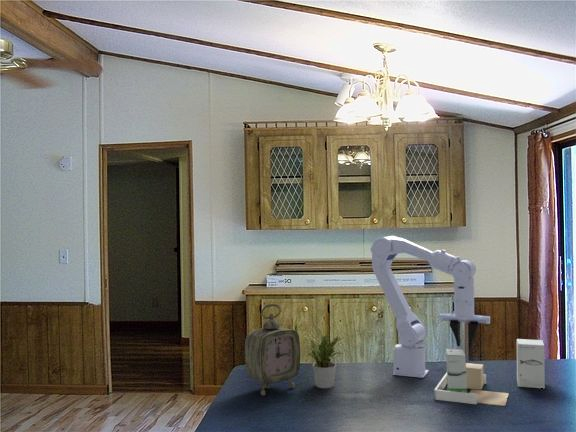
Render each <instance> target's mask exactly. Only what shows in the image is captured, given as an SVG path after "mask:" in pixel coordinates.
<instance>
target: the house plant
mask: <svg viewBox="0 0 576 432" xmlns="http://www.w3.org/2000/svg"><path fill="white" fill-rule="evenodd" d="M318 331H319V333H320V337H321V339H320V341H321V342H320V343H318V347H317V345H316V344H315V342H314V341H313V340H312V339H311V338H310V337H308V335H304V337H305V338H306V339H307V340H306V342H307V343H310V346H311V352H308V353H307V352H306V357H307V356H309V357H311V358H313V359H314V361H315V362H314V363H312V370H313V375H314V377H313V378H314V382H315V386H316V388H319V389H331V388H333V387H334V385H335V378H336V369H337V364H336V363H335V362H333V361H332V360H333V359H334V356H335V355H337V357H338V356H339V355H344V351H342V352H340V351H338V352H336V350H335V349H336V348H337V347H338V346H339V345H340V344H342V342H340V343H338V342H339V341H341V340H342V339H347V338H348V336H344V337H340V336H342V335H343V333H340V334H339V335H337V336H336V337H334V338H333V340H331V341H329V335H328V332H327V331H326V330H325V333H324V332H323V333H322V332H321V331H320V330H318ZM337 343H338V344H337ZM336 344H337V345H336ZM335 345H336V346H335Z"/></svg>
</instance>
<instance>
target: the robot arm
mask: <svg viewBox="0 0 576 432" xmlns="http://www.w3.org/2000/svg"><path fill="white" fill-rule="evenodd" d="M370 252H371V254H372V255H371V268H372V271H373V273H374V276H375V277H376V280H377V282H378V284H379V286H380V287H381V289H382V292H383V294H384V296H385V298H386V300H387V303H388V304H389V306H390V309H391V310H392V313H393V315H394V317H395V319H396V322H395V323H396V324H395V329H396V330H397V334H398V340H399V342H400V343H399V344H398V343H397V344H395V345H394V348H393V375H394V376H399V377H400V376H401V377H409V378H410V377H412V378H421V379H422V378H425V377H426V376H427V374H428V373H429V372H430V371H429V369H426V344H425V343H426V342H425V339H426V338H427V336H428V330H427V327H426V325H425V324H424V323H423V322H421V320H420V319H419V317H418V316H417V315H416V314H415V313H414V312H412V309H411V308H410V305H409V303H408V301H407V299H406V296H405V295H404V292H403V291H402V289H401V287H400V284H399V283H398V280H397V278H396V277H395V275H394V273H393V270H392V269H391V267H392V263H393V261H394V260H395V258H396V257H397V255H398V254H404V253H405V254H407V255H410V256H413V257H416V258H418V259H422V260H424V261H427V262H428V264H429V265H430V267H431V268H432V269H435V270H438V271H440V272H443V273H445V274H447V275H449V276H452V278H453V280H454V281H453V282H454V283H453V284H454V285H453V293H454V295H453V296H454V298H453V303H454V304H453V305H454V306H453V309H454V310H453V313H440V314H439V315H438V321H439V322H444V321H445V322H449V328H450V329H451V330H452V334H453V335H454V339H455V342H456V346H457V347H460V346H461V343H462V341H461V323H468V347H469V348H473V345H474V344H473V343H474V339H475V335H476V332H477V330H478V327H479V325H480V324H486V325H489V324H491V316H490V315H489V316H488V315H479V314H475V285H474V282H475V281H474V276H475V275H476V271H477V269H476V268H477V267H476V265H475V263H474V262H472V260H470V259H467V258H466V259H465V258H464V259H462V257H461V256H458V255H457V256H455V255H453V254H450V253H447V250H446V249H441V250H440V249H436V250H435V251H432V250H430V249H428V248H425V247H423V246H421V245H418V244H417V243H414V242H412V241H411V240H408V239H405V238H403V237H398V236H396V235H388V236H378V237H377V238H375V239H374V241H373V243H372V245H371V247H370Z"/></svg>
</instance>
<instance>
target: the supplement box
mask: <svg viewBox="0 0 576 432" xmlns="http://www.w3.org/2000/svg"><path fill="white" fill-rule="evenodd" d="M545 348H546V347H545V344H544V340H543V339H524V338H517V339H516V382H517V387H518V388H534V389H541V388H543V390H544V389H546V380H545V379H546V377H545V372H546V369H545V366H546V365H545V361H546V360H545V353H546V352H545V351H546V350H545Z"/></svg>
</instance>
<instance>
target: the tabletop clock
mask: <svg viewBox="0 0 576 432" xmlns="http://www.w3.org/2000/svg"><path fill="white" fill-rule="evenodd" d="M269 307H277V308H278V313H277V314H275V315H274V314H273V313H269V316H265V315H264V311H265V310H266V309H267V308H269ZM281 311H282V308H281V307H280V305H278V304H276V303H269V304H266V305H265V306H264V307H263V308H262V309H261V316H262V317H263V319H267V320H265V321H264V322H263V326H262V327H261V328H258V329H255V330H252V331H251V332H249V333H248V334H246V337H245V342H244V362H245V365H244V366H245V370H246V373H247V375H248V377H249V378H251V379H254V380H258V381H259V382H261V387H262V388H261V390H260V396H262V397H264V396H266V394H267V393H266V390H265V389H270V388H271V384H276V383H280V382H284V381H287V382H288V383H289V385H288V386H289V387H290V388H291V389H294V388H295V386H296V385H295V382H292V381H291V379H292V378H294V377H296V376H297V375H298V374H299V371H300V366H301V342H300V336H299V333H298V331H296V330H294V329H289V328H285V327H281V325H280V322H279V321H278V320H276V318H278V317H279V316H280V314H281Z"/></svg>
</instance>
